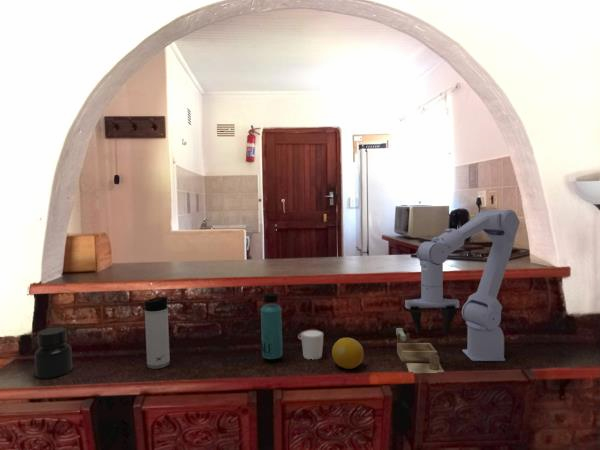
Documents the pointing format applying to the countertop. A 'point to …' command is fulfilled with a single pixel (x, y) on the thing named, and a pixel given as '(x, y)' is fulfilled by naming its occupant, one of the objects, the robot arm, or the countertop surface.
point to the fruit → (347, 353)
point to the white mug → (312, 344)
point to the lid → (426, 366)
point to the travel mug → (157, 332)
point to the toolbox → (414, 350)
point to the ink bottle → (53, 353)
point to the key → (401, 334)
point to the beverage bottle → (271, 328)
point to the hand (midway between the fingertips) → (432, 332)
